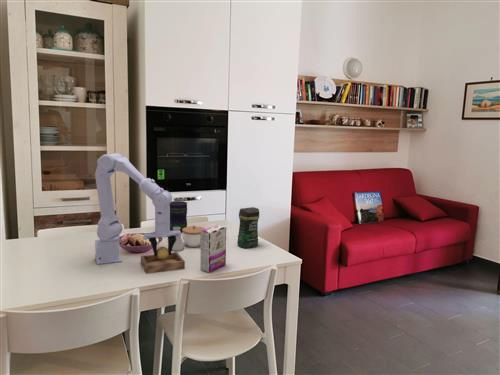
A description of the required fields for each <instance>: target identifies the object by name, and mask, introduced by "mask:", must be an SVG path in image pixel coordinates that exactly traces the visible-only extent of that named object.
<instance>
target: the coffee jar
mask: <svg viewBox="0 0 500 375" xmlns="http://www.w3.org/2000/svg"><path fill="white" fill-rule="evenodd" d="M238 218H239V228H238V236H237V246H238V247H240V248H244V249H247V248H248V249H249V248H250V247H251V248H254V247H258V245H259V232H258V229H259V228H258V227H259V226H258V222H259V219H260V209H259V208H257V207H253V206H252V207H244V208H241V207H240V209H239V211H238Z"/></svg>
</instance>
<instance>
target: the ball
mask: <svg viewBox="0 0 500 375" xmlns="http://www.w3.org/2000/svg"><path fill="white" fill-rule="evenodd" d="M168 255H169V251H168V247H165V246H160V247H157V257H158V258H159V259H165V258H167V257H168Z"/></svg>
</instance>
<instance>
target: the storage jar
mask: <svg viewBox="0 0 500 375" xmlns="http://www.w3.org/2000/svg"><path fill="white" fill-rule="evenodd" d="M187 214H188V202H186V201H183V200H182V201H181V200H174V201H173V200H172V201H171V203H170V231H174V230H173V228H174V227H180V231H181V234H183V232H182V229H183V228H185V227H188V220H187V219H188V218H187V216H188V215H187Z"/></svg>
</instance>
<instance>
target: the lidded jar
mask: <svg viewBox="0 0 500 375" xmlns="http://www.w3.org/2000/svg"><path fill="white" fill-rule="evenodd" d="M204 229H206V228H205V227H203V226H198V225H197V226H196V225H191V226H187V227H185V228H183V229H182V232H183V233H182V241H184V242H183V243H185V244H186V246H187V247H189V248H198V247H201V230H204Z"/></svg>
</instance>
